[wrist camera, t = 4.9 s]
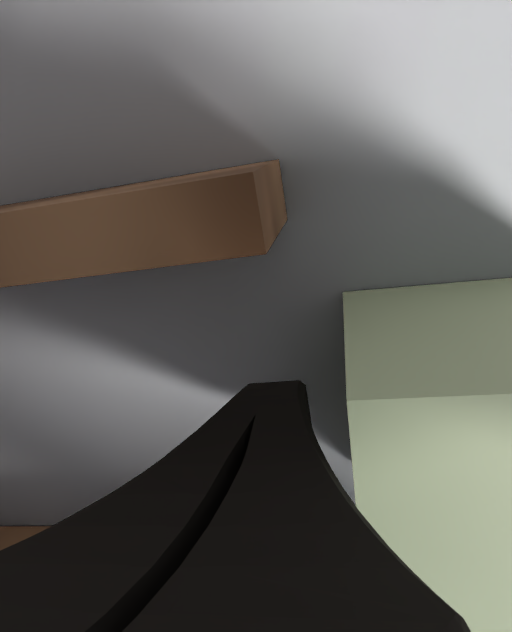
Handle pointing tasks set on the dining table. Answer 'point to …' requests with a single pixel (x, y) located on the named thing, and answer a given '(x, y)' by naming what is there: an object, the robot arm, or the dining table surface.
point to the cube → (437, 435)
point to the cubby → (140, 233)
